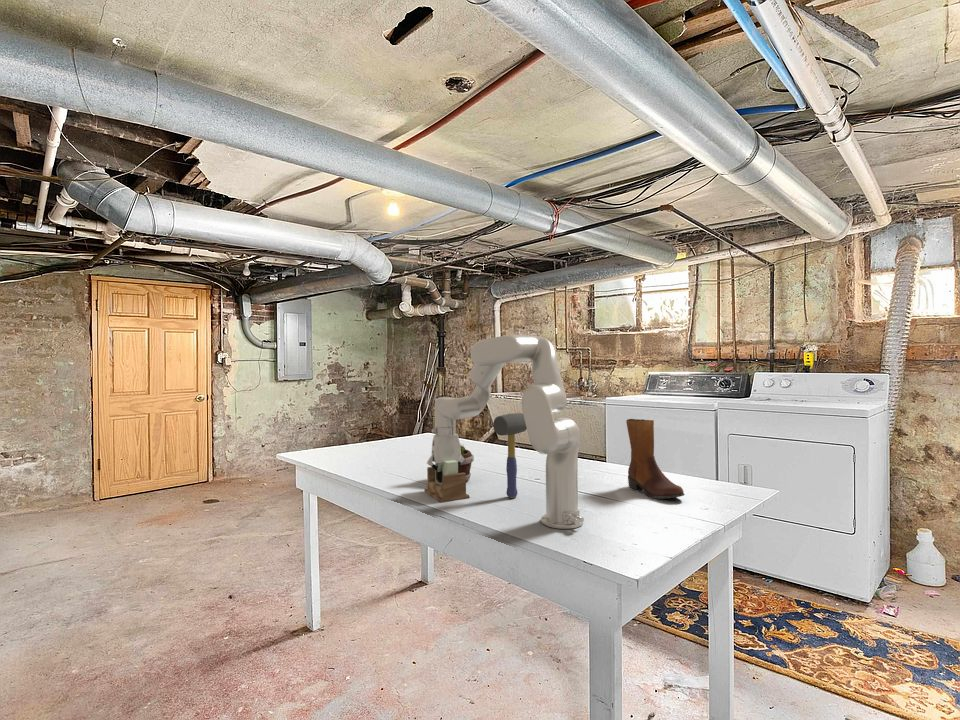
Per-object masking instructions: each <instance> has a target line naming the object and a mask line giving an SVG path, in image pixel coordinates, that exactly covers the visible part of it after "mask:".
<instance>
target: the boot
mask: <svg viewBox="0 0 960 720" xmlns="http://www.w3.org/2000/svg"><path fill="white" fill-rule="evenodd" d="M625 423H626V428H627V433H628V438H629V444H630V463H629V466H628V468H627V483H628V488H629V489H631V490H633V491H636V492H640V491H643V492H644V493H645V495H646V496H648V497H649V498H652V499H659V500H660V499H672V498H673V499H674V498H679V497H684V496H685V493H684V492H685V491H684V489H683V488H682V486H680V485H677V484H675V483H673V482H672V481H671V480H670V479H669V478H668V477H667V476H666V475H665V474H664V473H663V472H662V470H661V469H660V467H659V465H658V464H657V461H656V458H655V429H654V428H655V427H654V425H655V420H654V419H653V420H652V419H638V418H637V419H636V418H628V419H626V420H625Z"/></svg>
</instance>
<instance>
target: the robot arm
mask: <svg viewBox="0 0 960 720" xmlns="http://www.w3.org/2000/svg"><path fill="white" fill-rule="evenodd" d="M470 359H471V361H472V362H473V363H474V364H473V366H472V368H471V369H470V370H469V376H468V377H469V378H470V380H471V382H472V383H473V384H475V387H474V389H473V391H472V392H471V394H470V395H469V396H462V397H455V398H454V397H450V396H439V397H437V398H436V399H435V400H434V428H432V429H431V433H432V434H433V436H432V437H433V438H432V443H431V444H432V445H431V455H430V456H429V458H428V460H427V462H426V464H427V465H428V466H429V467H432V468H433V469H435V470H436V480H437V481H438V482H439V483H441V482H442V472H441V465H442V464H444V461H451V460H455V461H457V462H458V467H459V465H460V464H461V463H462V462H463V461H464V460H465V459H464V457H463V456H462V455H461V449H460V445H461V444H460V438H459V434H458V433H457V429H456V428H457V425H456V423H457V422H456V420H458V421H459V420H463V419H468V418H475V417H476V416H478V415H479V414H481V412H483V410H484V408H485V407H486V406H487V404H488V402H489V401H490V398H491V395H492V388H491V385H492V384H493V383H494V381H495V380H496V377H497V376H498V375H499V373H500V372H501V371H502V369H503V368H504V366H505V365H506V364H510V363H511V364H512V363H526V362H529V363H530V362H531V363H532V365H531V376H532V379H533V385H531V386H528V387H527V388H526V389H525V390H524V392H523V394H522V397H521V410H522V414H523V415H524V419H525V423H526V428H527V429H526V431H527V435H528V436H527V437H528V440H529V442H530V444H531V446H532V448H533V449H534V450H535V451H536V452H537V453H539V454H541V455H546V459H545V510H546V511H545V512H546V513H545V514H543V515H542V516H541V517H540V520H541V523H542V524H543V525H545V526H546V527H549V528H553V529H558V530H559V529H560V530H561V529H563V530H568V529H576V528H579V527H582V526H583V524H584V521H585V519H584V517H583V516H581V513H580V509H579V490H578V489H579V487H578V478H579V477H578V476H579V475H578V474H579V473H578V472H579V471H578V468H579V467H578V465H579V463H578V461H579V458H578V456H579V449H580V443H581V432H580V431H581V430H580V428H579V426H578V424H577V423H576V421H574V420H573V419H571V418H569V417H558V418H557V417H556V418H554V415H557V414H559V413H562V412H563V411H564V410H565V409H566V408H567V404H568V399H567V397H568V396H567V394H566V390H565V386H564V382H563V379H562V378H563V377H562V375H561V372H560V368H559V364H558V359H557V354H556V350H555V347H554V346H553V344H552V342H550V341H549V340H548V339H546V338H545V337H542V336H538V335H531V334H530V335H528V334H521V335H520V334H506V335H501V336H496V337H495V336H494V337H491V338H485V339H484V338H483V339H480V340H478V341H476V342H475V343H474V344H473V345H472V347H471V349H470ZM435 462H436V464H435Z"/></svg>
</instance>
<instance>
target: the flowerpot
mask: <svg viewBox="0 0 960 720" xmlns="http://www.w3.org/2000/svg"><path fill="white" fill-rule="evenodd" d="M464 445H465V444H464V443H463V444H461V443H460V449H461V455H462V456H463V457H464V459H465V460H464V461H463V462H462V463H461V464H460V465H459V467H458V473H466V483H468V482H469V480H470V478H471V475H472V474H471V468H472V463H473V462H474V461H475V460H474V458H475V456H474V454H473V453H472V452H471V450H468V449H466V447H465V446H464Z"/></svg>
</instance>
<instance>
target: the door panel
mask: <svg viewBox="0 0 960 720" xmlns="http://www.w3.org/2000/svg"><path fill="white" fill-rule="evenodd" d="M434 464H436V462H434ZM441 472H442V475H449V474H457V473H458V462H457V461H455V460H451V461H444V464H442V465H441ZM435 483H437V484H439V485H440V486H442V482H441V483H439V482H438V481H437V480H436V470H435Z"/></svg>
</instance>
